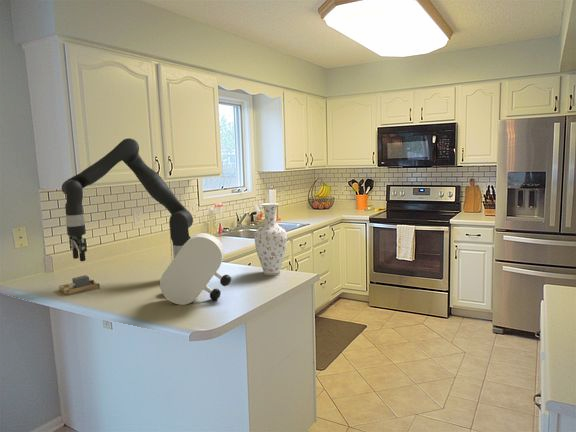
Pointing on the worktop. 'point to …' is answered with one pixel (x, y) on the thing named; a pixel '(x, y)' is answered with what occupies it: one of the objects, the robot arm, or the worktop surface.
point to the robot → (194, 270)
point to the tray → (70, 290)
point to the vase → (270, 242)
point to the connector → (80, 281)
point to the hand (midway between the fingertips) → (79, 259)
